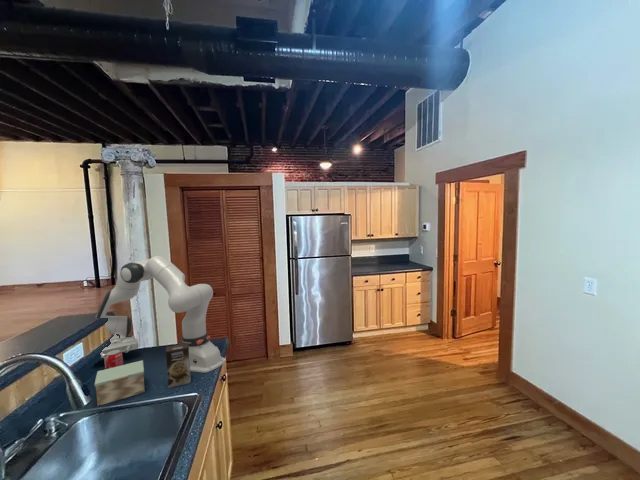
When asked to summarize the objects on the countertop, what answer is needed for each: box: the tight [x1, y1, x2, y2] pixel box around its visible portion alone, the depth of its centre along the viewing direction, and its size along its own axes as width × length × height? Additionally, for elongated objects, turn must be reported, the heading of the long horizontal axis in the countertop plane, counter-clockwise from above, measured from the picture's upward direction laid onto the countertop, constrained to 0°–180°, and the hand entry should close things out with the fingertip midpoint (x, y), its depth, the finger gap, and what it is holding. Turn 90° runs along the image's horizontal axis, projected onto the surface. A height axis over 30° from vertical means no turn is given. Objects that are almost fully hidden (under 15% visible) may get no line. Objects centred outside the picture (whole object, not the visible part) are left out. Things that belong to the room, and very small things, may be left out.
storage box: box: [95, 374, 146, 407], centre depth 125 cm, size 16×12×8 cm
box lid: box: [94, 359, 145, 388], centre depth 124 cm, size 17×14×1 cm
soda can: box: [103, 350, 124, 370], centre depth 138 cm, size 7×7×12 cm
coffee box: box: [165, 343, 192, 389], centre depth 131 cm, size 9×6×16 cm
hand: (115, 353), depth 148 cm, fingers open, 8 cm apart
